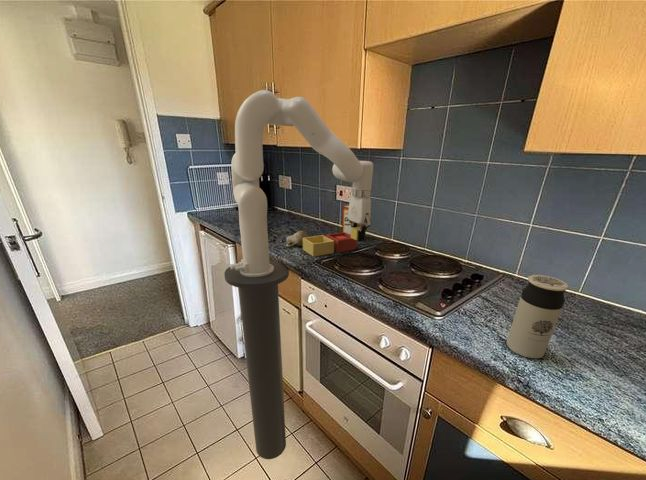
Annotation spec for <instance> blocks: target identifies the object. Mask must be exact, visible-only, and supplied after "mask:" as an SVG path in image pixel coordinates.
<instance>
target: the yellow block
mask: <svg viewBox="0 0 646 480" xmlns="http://www.w3.org/2000/svg"><path fill="white" fill-rule="evenodd" d="M359 230H360V227H352V228H351V238H352V239H355V240H357V241H359V240H358V232H359ZM366 231H367V230H366ZM366 231H365V233H367V232H366Z"/></svg>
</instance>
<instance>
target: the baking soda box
mask: <svg viewBox="0 0 646 480" xmlns="http://www.w3.org/2000/svg"><path fill="white" fill-rule="evenodd" d="M348 210H349V204H348V205H343V206H342V216H341V217H342V219H341V233H342V232H346V233H348V234H350V235H351V228H352V227H351V223H350V220H349V219H348ZM363 223H364V222H363ZM363 226H364V224H363V225H362V227H363ZM357 227H359V224H358V226H357Z"/></svg>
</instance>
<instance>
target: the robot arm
mask: <svg viewBox="0 0 646 480" xmlns="http://www.w3.org/2000/svg"><path fill="white" fill-rule="evenodd" d="M235 116H236V117H235V121H234V147H235V153H234V154H233V156H232V158H231V163H230V165H231V183H232V192H233V194H232V195H233V198H234V201H235V202H236V204H237V206H238V207H237V208H238V223H239V232H240V233H239V234H240V244H241V252H242V259H240V261H239V262H237V263H238V264H237V263H232V264H229V267H230V268H231V270H232V269H236V271H238V270H240V273H241V274H242V275H244V276H247V277H263V276H267V275H269V274H271V273H272V272H273V271H274V266H273V265H271V264H270V263H269V260H270V249H269V246H270V245H269V232H268V231H269V230H268V197H267V195H266V193H265V192H264V191H263V189H262V188H261V187H260V178H261V177H262V175H263V173H264V165H265V164H264V151H263V150H264V149H263V142H264V141H263V137H264V130H265V127H266V125H274V126H281V127H283V126H285V127H294V128H295V129H296V130H297V132H299V134H300V135H301V136H302V137H303V138H304V140H305V141H306V142H307V143H308V145H309V146H310V148H312V149H313V150H314V151H315V152H316V153H318V154H320V155H321V156H323V157H325V158H326V159H328V160H329V161H331V162H332V163H333V165H332V169H331V171H332V174H333V176H334V177H335V178H336V179H338V180H340V181H344V182H348V183H352V188H351V196H350V198H349V203H348V205H349V210H348V219H349V220H350V223H351V227H357V226H358V224H359V227H360V230H359V232H358V240H357V241H364V240H366V232H365V231H367V230H368V228H369V227H371V226H372V225H371V217H372V216H371V215H372V213H371V212H372V201H371V196H372V186H373V174H374V162H372V161H369V160H359V158H358V157H357V156H356V155H355V153H354V152H353V151H352V150H351V148H350V147H348V145H346V144H345V142H343V141H342V140H341V139H340V138H339V137H338V136H337V135H336V134H335V133H333V132H332V131H331V129H330V128H329V126H328V125H327V124H326V122H325V121H324V120H323V119H322V118H321V116H320V114H319V113H318V112H317V111H316V109H315V108H314V107H313V105H312V104H311V103H310V102H309V100H308V99H306V98H305V97H303V96H294V97H291V98H281V97H277V95H276V94H275V93H274V92H273V91H270V90H268V89H261V90H258V91H256V92H254V93H252V94H251V95H249V96H248V97H247V98H245V100H244V101H243V102H242V103H241V105H240V107H239V109H238V111H237V113H236V115H235ZM363 222H364V223H363ZM363 224H364V226H363V227H362V225H363Z"/></svg>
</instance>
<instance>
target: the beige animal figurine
mask: <svg viewBox="0 0 646 480" xmlns="http://www.w3.org/2000/svg"><path fill="white" fill-rule="evenodd" d="M305 237H309V236H308V233H307V231H305V230H299V231H296V233H294V234H292V235H288V236H287V237H286V245H285V246H286V247H287V248H291V247H294V246H299V247H303V238H305Z"/></svg>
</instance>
